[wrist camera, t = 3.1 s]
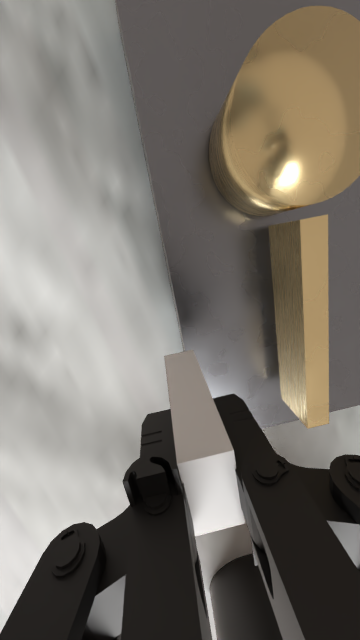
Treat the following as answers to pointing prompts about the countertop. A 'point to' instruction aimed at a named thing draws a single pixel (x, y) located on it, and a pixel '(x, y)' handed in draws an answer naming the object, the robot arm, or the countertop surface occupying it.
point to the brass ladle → (295, 175)
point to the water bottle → (242, 603)
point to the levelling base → (217, 213)
